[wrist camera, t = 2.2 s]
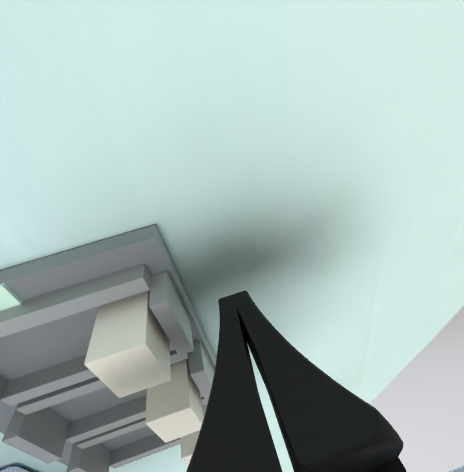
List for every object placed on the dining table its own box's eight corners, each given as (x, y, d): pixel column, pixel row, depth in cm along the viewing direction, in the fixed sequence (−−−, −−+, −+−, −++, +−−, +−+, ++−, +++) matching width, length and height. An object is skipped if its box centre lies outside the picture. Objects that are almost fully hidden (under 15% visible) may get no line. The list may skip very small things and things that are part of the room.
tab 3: (190, 420, 21) (194, 470, 18) (178, 405, 19) (181, 458, 17) (218, 410, 21) (226, 458, 18) (209, 394, 19) (216, 445, 17)
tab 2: (164, 387, 18) (165, 442, 15) (147, 365, 16) (145, 423, 13) (198, 375, 18) (205, 428, 15) (185, 352, 16) (190, 407, 13)
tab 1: (126, 337, 14) (119, 398, 11) (99, 302, 12) (83, 364, 10) (168, 323, 14) (171, 379, 12) (148, 287, 13) (145, 343, 10)
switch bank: (85, 455, 23) (75, 505, 20) (-154, 316, 11) (-249, 390, 9) (234, 400, 24) (244, 440, 21) (155, 224, 12) (154, 264, 10)
